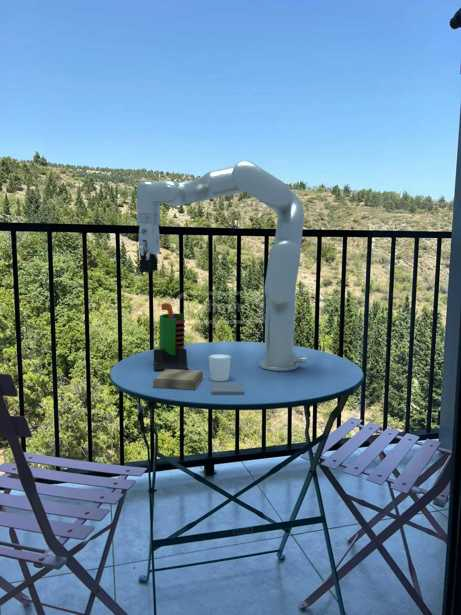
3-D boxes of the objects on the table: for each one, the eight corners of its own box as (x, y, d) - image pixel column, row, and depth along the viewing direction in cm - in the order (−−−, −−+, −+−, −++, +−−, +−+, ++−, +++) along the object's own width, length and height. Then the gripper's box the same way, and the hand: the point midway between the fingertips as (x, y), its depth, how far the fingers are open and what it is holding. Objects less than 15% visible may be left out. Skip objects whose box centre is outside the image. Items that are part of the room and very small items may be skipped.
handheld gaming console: (155, 368, 161) (156, 340, 166) (151, 377, 167) (151, 349, 172) (191, 371, 165) (190, 343, 170) (185, 380, 171) (184, 352, 176)
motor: (184, 365, 172) (184, 306, 169) (157, 365, 172) (157, 306, 168) (186, 356, 182) (186, 301, 179) (160, 356, 182) (160, 301, 178)
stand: (202, 378, 157) (202, 370, 156) (194, 389, 145) (194, 381, 144) (164, 376, 158) (164, 368, 158) (153, 387, 146) (153, 378, 146)
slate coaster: (242, 385, 150) (242, 382, 150) (244, 394, 141) (244, 391, 141) (211, 384, 150) (211, 382, 150) (211, 394, 141) (211, 391, 141)
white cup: (230, 381, 153) (231, 358, 152) (207, 381, 153) (207, 358, 153) (231, 375, 160) (231, 353, 159) (208, 375, 160) (209, 353, 159)
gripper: (152, 219, 163) (152, 273, 165) (165, 221, 180) (165, 270, 182) (129, 218, 163) (130, 272, 166) (144, 220, 181) (145, 269, 183)
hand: (148, 271), depth 174 cm, fingers open, 9 cm apart
